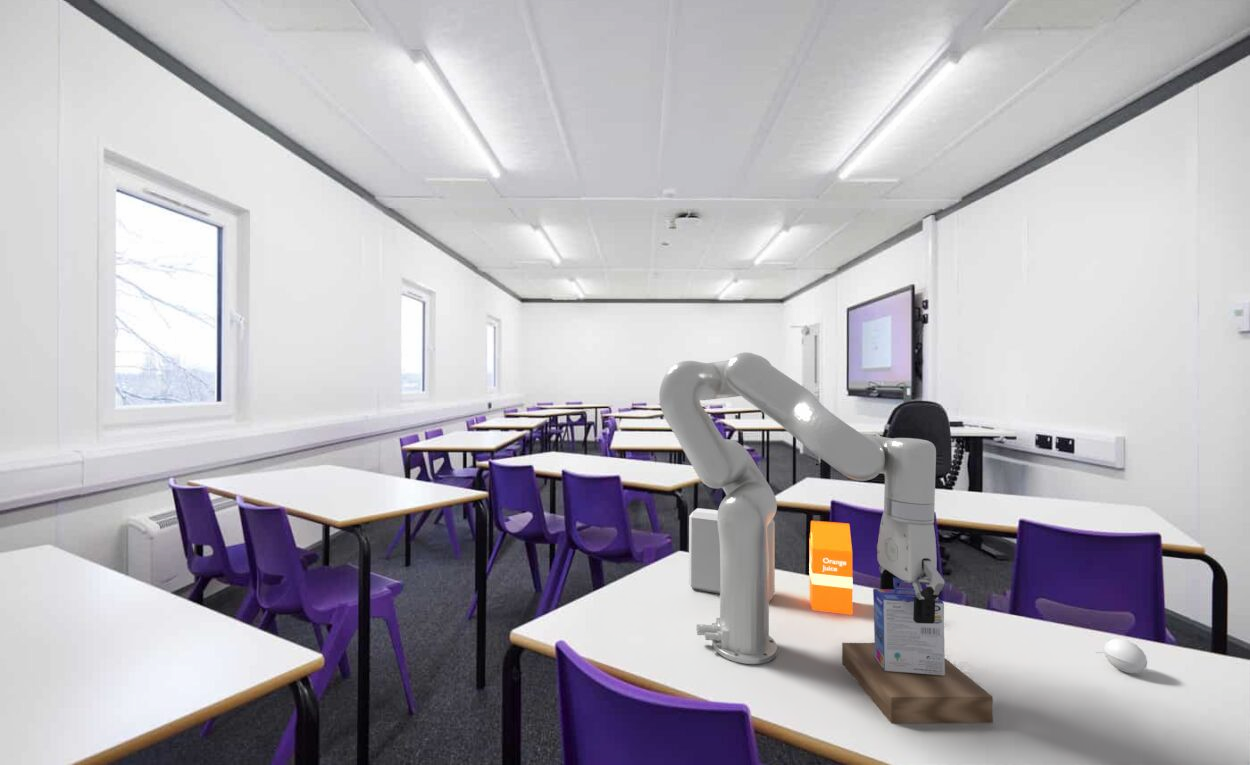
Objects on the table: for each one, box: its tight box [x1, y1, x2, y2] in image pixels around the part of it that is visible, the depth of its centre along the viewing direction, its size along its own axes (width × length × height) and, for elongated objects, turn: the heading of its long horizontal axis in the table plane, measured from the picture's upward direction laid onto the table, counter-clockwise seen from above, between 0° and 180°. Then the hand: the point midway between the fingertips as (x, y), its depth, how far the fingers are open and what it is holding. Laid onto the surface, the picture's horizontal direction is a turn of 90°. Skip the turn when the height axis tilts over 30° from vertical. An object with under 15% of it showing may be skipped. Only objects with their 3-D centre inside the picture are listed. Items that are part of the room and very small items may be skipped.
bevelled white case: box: [688, 507, 776, 602], centre depth 123 cm, size 21×8×20 cm, turn 66°
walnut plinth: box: [841, 642, 994, 724], centre depth 82 cm, size 16×16×4 cm
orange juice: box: [808, 520, 854, 616], centre depth 115 cm, size 8×9×20 cm
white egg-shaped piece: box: [1095, 638, 1148, 674], centre depth 89 cm, size 8×6×6 cm
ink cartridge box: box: [872, 577, 946, 676], centre depth 83 cm, size 10×6×14 cm, turn 83°
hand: (905, 608), depth 83 cm, fingers open, 9 cm apart
